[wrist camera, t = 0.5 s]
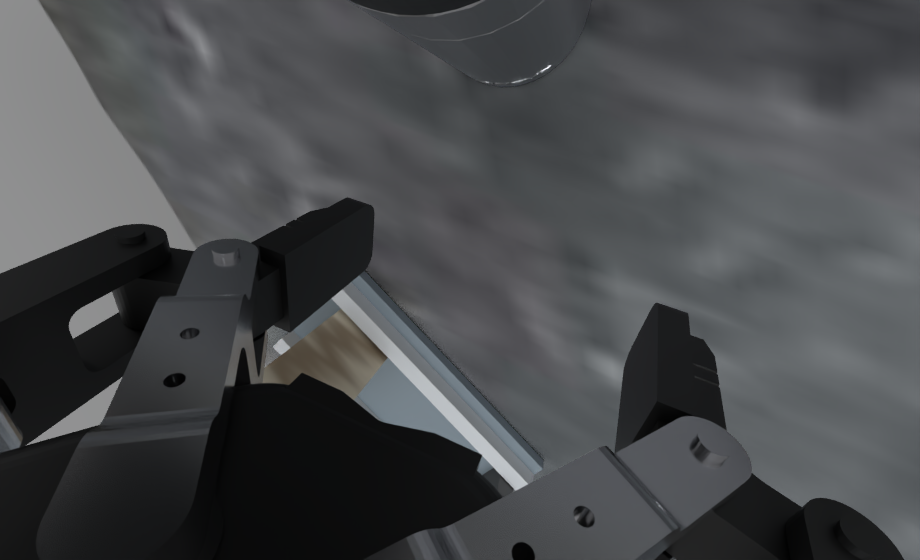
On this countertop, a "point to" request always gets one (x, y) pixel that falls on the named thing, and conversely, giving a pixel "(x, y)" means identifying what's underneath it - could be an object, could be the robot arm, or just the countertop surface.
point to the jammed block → (330, 357)
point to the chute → (425, 386)
